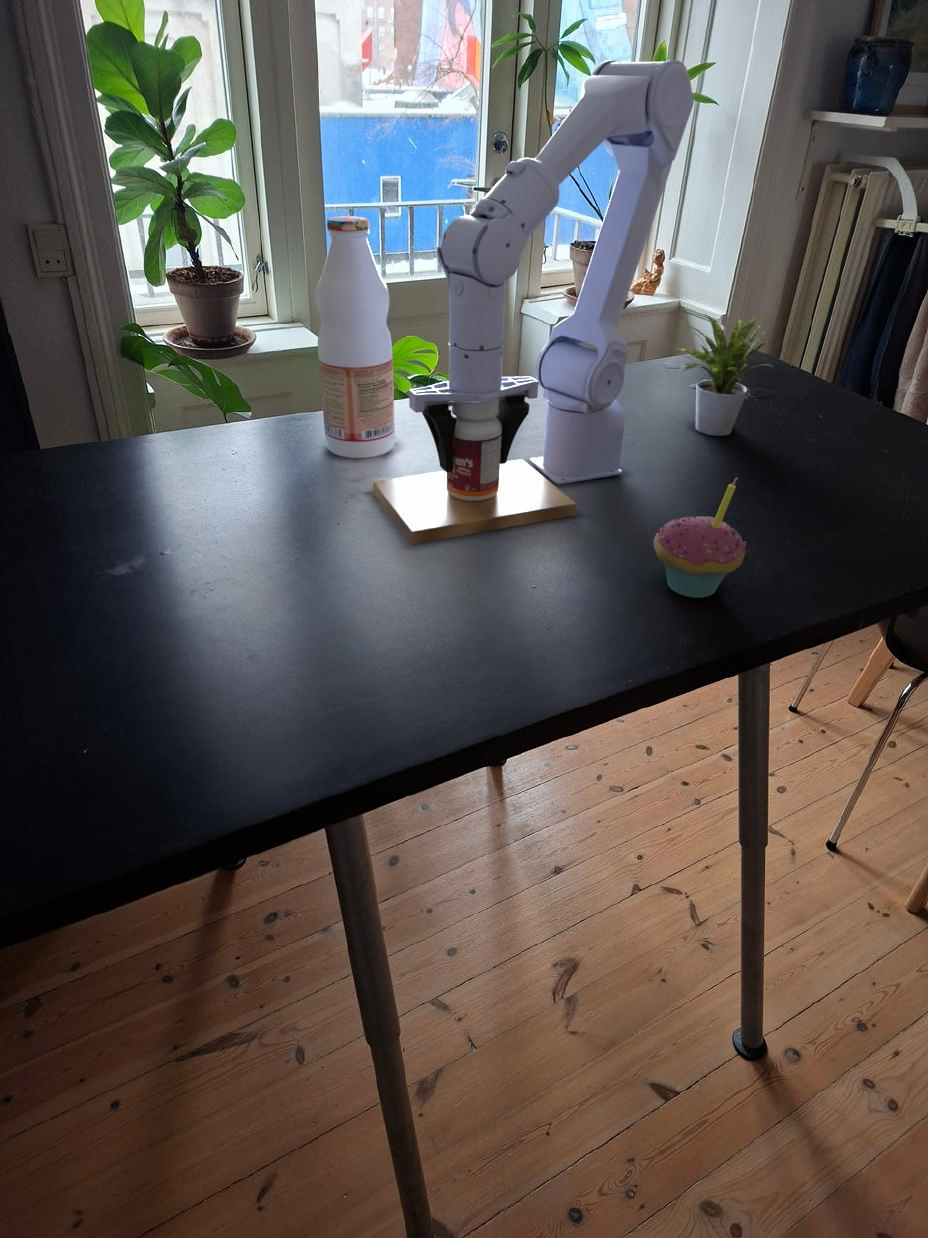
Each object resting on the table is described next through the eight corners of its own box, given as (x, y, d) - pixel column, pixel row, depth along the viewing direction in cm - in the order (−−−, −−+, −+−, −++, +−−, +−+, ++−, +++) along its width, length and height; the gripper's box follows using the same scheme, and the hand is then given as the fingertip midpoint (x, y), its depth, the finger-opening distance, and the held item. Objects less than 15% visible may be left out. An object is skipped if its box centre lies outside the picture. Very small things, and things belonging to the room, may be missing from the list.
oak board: (521, 470, 104) (522, 458, 103) (575, 515, 93) (576, 503, 92) (372, 493, 97) (372, 481, 96) (412, 545, 86) (411, 531, 85)
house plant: (687, 403, 127) (706, 294, 118) (775, 422, 120) (802, 308, 111) (649, 428, 117) (666, 311, 108) (741, 451, 110) (768, 328, 101)
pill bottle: (435, 492, 94) (435, 396, 87) (469, 476, 98) (471, 383, 91) (476, 508, 90) (479, 409, 84) (509, 490, 94) (514, 395, 88)
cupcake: (737, 573, 82) (764, 463, 76) (732, 616, 76) (760, 500, 69) (653, 559, 85) (671, 451, 78) (641, 599, 78) (660, 484, 71)
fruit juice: (316, 456, 106) (295, 221, 91) (338, 431, 114) (322, 211, 98) (385, 462, 105) (375, 225, 89) (402, 437, 112) (397, 214, 97)
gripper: (425, 360, 79) (425, 487, 87) (555, 347, 84) (545, 469, 91) (401, 342, 84) (404, 463, 92) (524, 331, 89) (518, 447, 97)
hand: (472, 464), depth 92 cm, fingers closed on pill bottle, 6 cm apart
